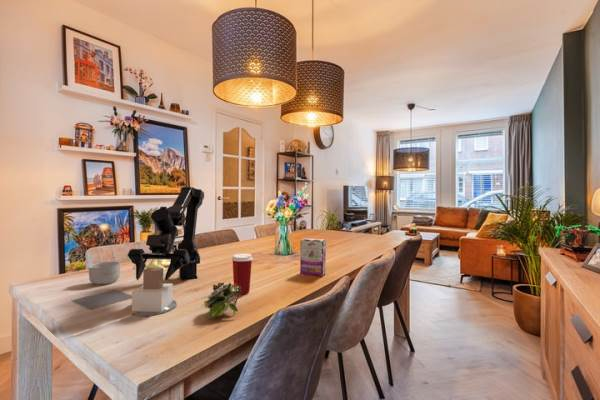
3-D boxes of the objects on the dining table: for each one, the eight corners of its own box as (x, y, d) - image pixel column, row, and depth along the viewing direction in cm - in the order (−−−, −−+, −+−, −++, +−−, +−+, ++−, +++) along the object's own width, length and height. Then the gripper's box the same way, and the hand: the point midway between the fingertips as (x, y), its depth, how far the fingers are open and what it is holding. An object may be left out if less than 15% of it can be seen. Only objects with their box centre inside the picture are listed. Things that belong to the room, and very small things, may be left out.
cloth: (126, 268, 147) (126, 255, 147) (160, 261, 163) (161, 249, 162) (153, 275, 135) (153, 262, 135) (188, 267, 151) (188, 255, 151)
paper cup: (255, 290, 116) (256, 254, 115) (245, 297, 109) (246, 258, 108) (237, 288, 118) (238, 252, 118) (226, 294, 111) (227, 256, 111)
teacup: (104, 288, 115) (104, 267, 114) (80, 286, 117) (80, 265, 117) (132, 278, 128) (132, 259, 128) (110, 276, 130) (110, 258, 130)
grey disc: (173, 297, 107) (173, 286, 107) (179, 311, 95) (179, 298, 95) (128, 303, 100) (128, 292, 100) (128, 319, 88) (128, 306, 88)
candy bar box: (325, 274, 141) (326, 239, 141) (322, 276, 137) (323, 240, 136) (303, 271, 145) (304, 237, 145) (299, 273, 141) (300, 238, 140)
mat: (115, 291, 112) (115, 289, 112) (136, 298, 105) (136, 297, 105) (70, 302, 100) (70, 300, 100) (91, 311, 93) (91, 309, 93)
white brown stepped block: (145, 301, 102) (145, 265, 102) (172, 301, 102) (173, 265, 102) (131, 311, 93) (132, 272, 93) (161, 311, 93) (161, 273, 93)
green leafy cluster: (217, 326, 97) (227, 289, 104) (244, 327, 92) (253, 288, 99) (192, 316, 89) (205, 277, 96) (221, 317, 84) (232, 275, 91)
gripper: (130, 224, 100) (110, 265, 90) (187, 225, 101) (174, 266, 90) (141, 244, 109) (125, 284, 98) (194, 244, 109) (183, 284, 98)
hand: (151, 279), depth 96 cm, fingers open, 9 cm apart
